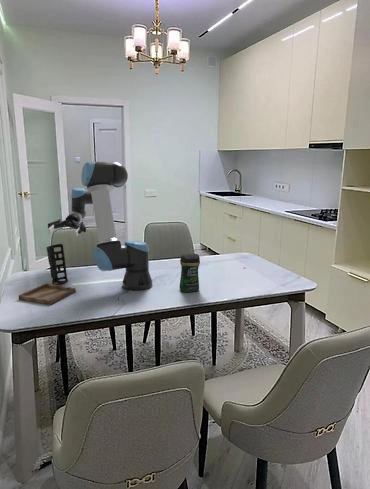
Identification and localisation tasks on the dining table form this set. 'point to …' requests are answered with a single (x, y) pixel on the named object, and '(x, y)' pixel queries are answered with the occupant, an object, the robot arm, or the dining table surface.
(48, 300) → the tray
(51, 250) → the holder
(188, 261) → the coffee jar
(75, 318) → the dining table surface
